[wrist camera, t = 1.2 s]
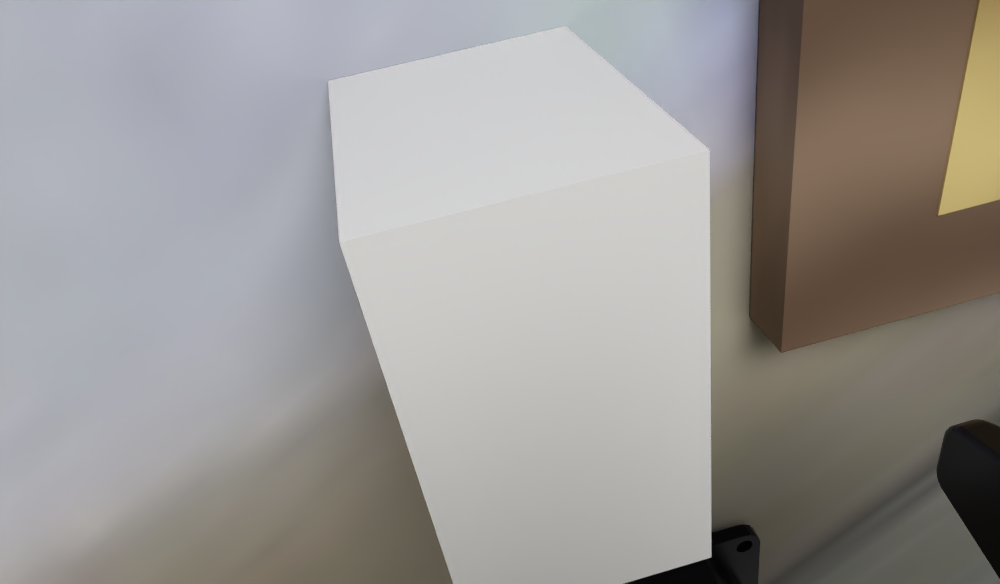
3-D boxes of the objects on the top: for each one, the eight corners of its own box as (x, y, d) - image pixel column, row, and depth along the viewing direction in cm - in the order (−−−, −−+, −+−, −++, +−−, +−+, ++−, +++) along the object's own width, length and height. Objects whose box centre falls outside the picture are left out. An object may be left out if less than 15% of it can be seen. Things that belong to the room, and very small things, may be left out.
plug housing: (601, 353, 18) (711, 557, 13) (424, 400, 18) (468, 630, 13) (565, 25, 14) (709, 149, 9) (328, 81, 13) (339, 242, 8)
